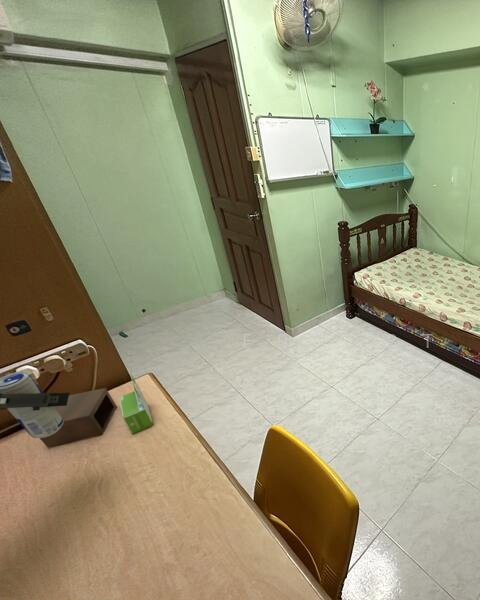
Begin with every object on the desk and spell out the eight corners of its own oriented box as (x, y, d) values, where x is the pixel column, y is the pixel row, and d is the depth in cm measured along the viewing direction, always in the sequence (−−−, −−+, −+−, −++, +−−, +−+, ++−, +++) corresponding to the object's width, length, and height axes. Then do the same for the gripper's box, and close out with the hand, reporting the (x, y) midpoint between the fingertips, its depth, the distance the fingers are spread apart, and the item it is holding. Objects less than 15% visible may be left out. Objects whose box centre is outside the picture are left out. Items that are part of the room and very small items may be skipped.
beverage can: (65, 416, 71) (28, 366, 64) (66, 430, 68) (27, 379, 61) (33, 430, 68) (-10, 378, 61) (32, 445, 65) (-13, 393, 58)
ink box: (127, 413, 95) (107, 379, 88) (149, 404, 98) (131, 370, 92) (132, 435, 89) (110, 399, 82) (154, 424, 92) (135, 390, 85)
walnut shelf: (47, 448, 85) (31, 428, 81) (68, 417, 94) (54, 398, 90) (102, 434, 88) (89, 415, 85) (117, 406, 97) (105, 387, 93)
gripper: (-185, 437, 45) (1, 421, 67) (-41, 428, 46) (92, 415, 69) (-162, 383, 47) (10, 385, 69) (-26, 376, 48) (99, 380, 71)
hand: (51, 400), depth 69 cm, fingers closed on beverage can, 5 cm apart
